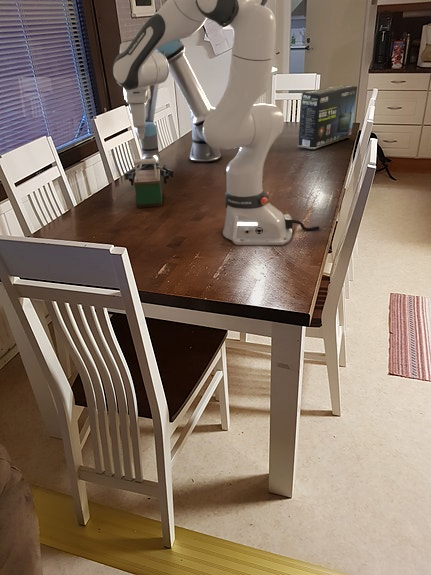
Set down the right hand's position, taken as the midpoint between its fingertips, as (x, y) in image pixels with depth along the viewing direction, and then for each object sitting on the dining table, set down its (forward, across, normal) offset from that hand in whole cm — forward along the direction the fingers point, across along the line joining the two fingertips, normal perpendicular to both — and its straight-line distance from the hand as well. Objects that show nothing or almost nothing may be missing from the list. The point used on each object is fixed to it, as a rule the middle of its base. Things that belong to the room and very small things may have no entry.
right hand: (142, 135), depth 162 cm
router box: (+26, -73, +92) cm, 120 cm away
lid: (+17, -4, 0) cm, 17 cm away
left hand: (+19, -8, 0) cm, 21 cm away
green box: (+26, -4, 0) cm, 26 cm away
